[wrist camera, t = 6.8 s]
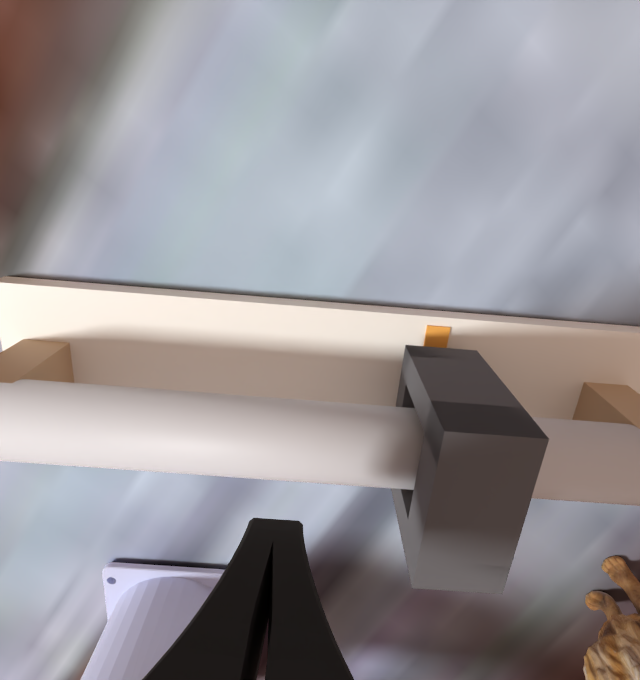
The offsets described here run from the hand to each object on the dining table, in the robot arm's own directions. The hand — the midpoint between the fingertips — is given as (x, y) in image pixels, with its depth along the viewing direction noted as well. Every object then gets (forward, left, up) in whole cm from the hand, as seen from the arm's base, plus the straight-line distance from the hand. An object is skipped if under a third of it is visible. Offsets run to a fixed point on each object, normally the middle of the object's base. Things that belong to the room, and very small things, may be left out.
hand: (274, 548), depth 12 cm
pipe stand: (0, -2, -10) cm, 10 cm away
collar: (0, -6, -8) cm, 10 cm away
